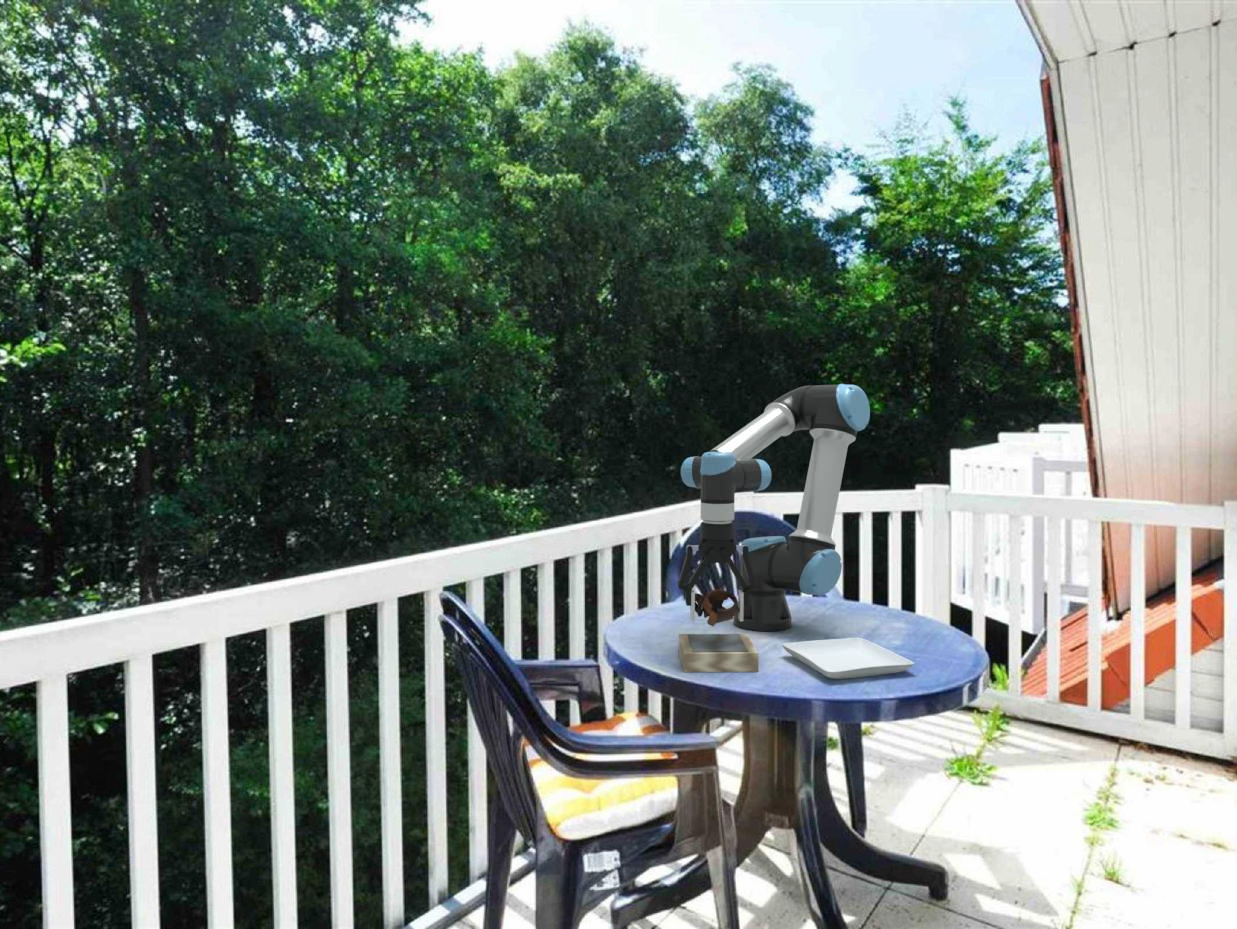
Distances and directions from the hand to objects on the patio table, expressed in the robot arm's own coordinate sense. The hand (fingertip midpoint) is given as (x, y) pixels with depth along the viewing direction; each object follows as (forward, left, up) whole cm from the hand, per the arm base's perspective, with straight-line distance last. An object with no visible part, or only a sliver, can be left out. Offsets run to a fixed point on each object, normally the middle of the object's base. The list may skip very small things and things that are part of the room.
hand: (716, 619), depth 187 cm
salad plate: (-28, +4, -10) cm, 30 cm away
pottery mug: (0, -1, -1) cm, 2 cm away
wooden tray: (0, 0, -9) cm, 9 cm away
